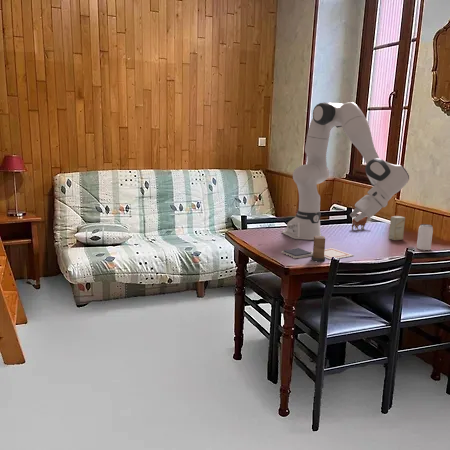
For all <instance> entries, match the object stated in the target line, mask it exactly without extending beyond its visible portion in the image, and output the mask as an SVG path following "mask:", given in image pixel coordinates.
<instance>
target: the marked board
mask: <svg viewBox="0 0 450 450" xmlns="http://www.w3.org/2000/svg"><path fill="white" fill-rule="evenodd" d="M310 252H311V253H312V254H313V250H312V251H310ZM324 256H325V259H327V260H330V261H332V260H331V258H332V257H335V258H339V259H338V260H340V259H344V258H345V259H346V258H350V257H354V254H352V253H348V252H345V251H343V250H339V249H336V248H333V247H331V248H325V251H324Z"/></svg>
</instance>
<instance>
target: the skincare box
mask: <svg viewBox="0 0 450 450" xmlns="http://www.w3.org/2000/svg"><path fill="white" fill-rule="evenodd" d="M405 223H406V217H405V216H401V215H394V216H390V222H389V231H388V232H389V233H388V239H389V240H392V241H402V240H404V232H405Z"/></svg>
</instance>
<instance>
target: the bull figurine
mask: <svg viewBox="0 0 450 450" xmlns="http://www.w3.org/2000/svg"><path fill="white" fill-rule="evenodd" d="M351 220H352V221H351V223H352V224H351V230H352V231H354V230H355V229H356V231H360V229H359V227H361V229H362V230H363V231H364V230H365V227H366V224H367V223H368V222H369V221H372V217H369V218H368V217H367V216H365V217H364V218H363V219H361V220H359V221H358V222H356V221H355V220H354V218H352V219H351Z"/></svg>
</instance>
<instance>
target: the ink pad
mask: <svg viewBox="0 0 450 450" xmlns="http://www.w3.org/2000/svg"><path fill="white" fill-rule="evenodd" d="M282 253H284V254H286V255H285V256H287V255H289V256H291V257H290V258H292V257H293V259H294V258H299V259H303V257H304V258H309V257H308V256H310V257H312V255H313V253H311V251H307V250H305V249H302V248H299V247H296V248H290V249H284V250H281V254H282ZM284 254H283V255H284ZM289 256H288V257H289Z"/></svg>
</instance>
